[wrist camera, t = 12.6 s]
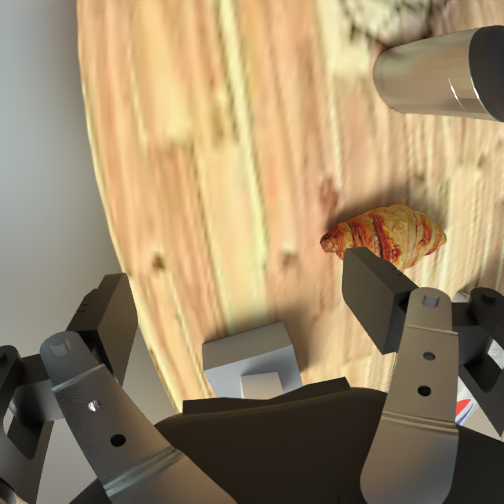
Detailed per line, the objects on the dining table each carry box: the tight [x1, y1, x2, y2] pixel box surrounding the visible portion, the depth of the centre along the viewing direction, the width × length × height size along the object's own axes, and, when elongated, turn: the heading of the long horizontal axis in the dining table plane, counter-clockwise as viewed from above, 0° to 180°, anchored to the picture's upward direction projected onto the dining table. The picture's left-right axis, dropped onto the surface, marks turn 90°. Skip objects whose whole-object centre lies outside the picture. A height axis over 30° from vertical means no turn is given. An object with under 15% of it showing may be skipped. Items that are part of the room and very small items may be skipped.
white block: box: [240, 372, 284, 399], centre depth 40 cm, size 5×5×6 cm
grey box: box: [202, 320, 303, 398], centre depth 45 cm, size 12×12×6 cm
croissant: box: [320, 203, 447, 272], centre depth 40 cm, size 21×10×8 cm, turn 90°
